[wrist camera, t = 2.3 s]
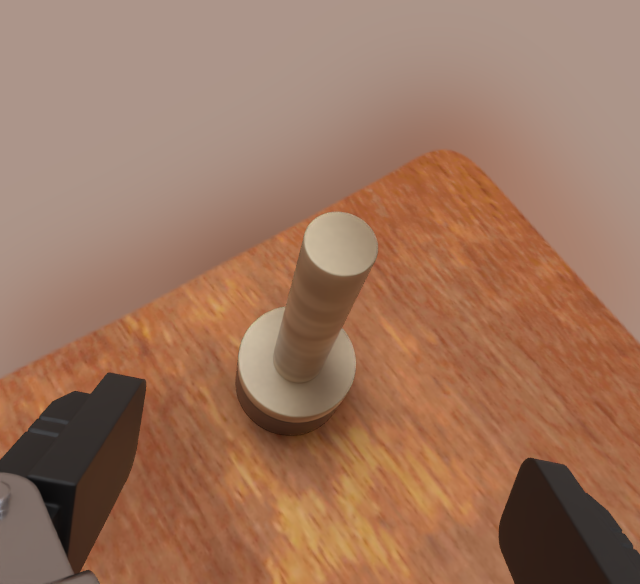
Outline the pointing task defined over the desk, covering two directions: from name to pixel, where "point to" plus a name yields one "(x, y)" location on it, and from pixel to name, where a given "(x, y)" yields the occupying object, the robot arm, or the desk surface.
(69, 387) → the desk surface
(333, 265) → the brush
